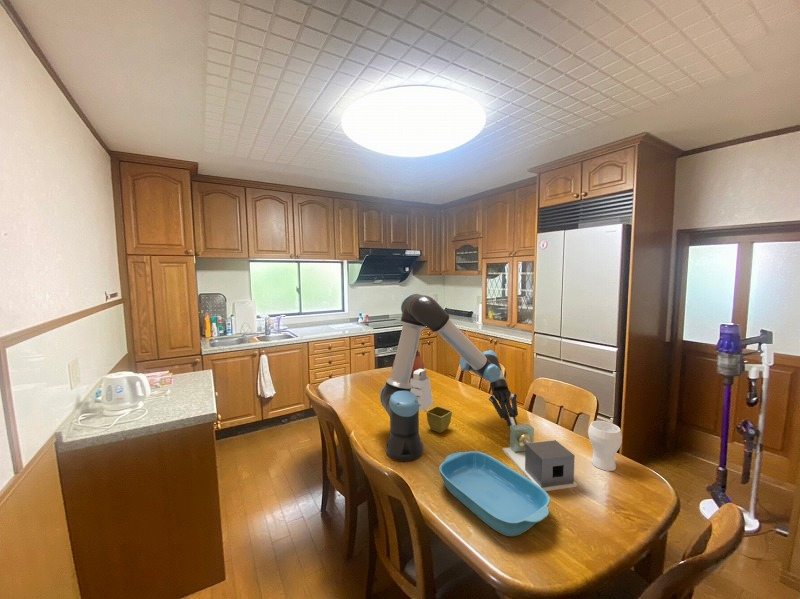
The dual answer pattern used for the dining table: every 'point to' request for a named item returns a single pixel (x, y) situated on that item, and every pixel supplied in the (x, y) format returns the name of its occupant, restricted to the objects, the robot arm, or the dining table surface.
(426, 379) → the grater
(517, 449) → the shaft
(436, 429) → the flower pot
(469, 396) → the dining table surface
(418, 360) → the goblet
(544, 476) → the bearing block
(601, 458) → the cup
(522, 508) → the casserole dish
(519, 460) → the base board
